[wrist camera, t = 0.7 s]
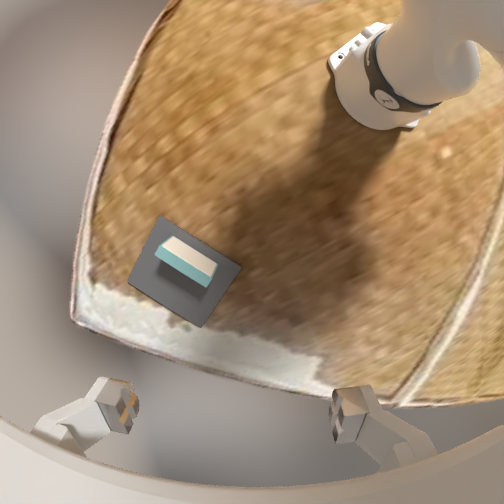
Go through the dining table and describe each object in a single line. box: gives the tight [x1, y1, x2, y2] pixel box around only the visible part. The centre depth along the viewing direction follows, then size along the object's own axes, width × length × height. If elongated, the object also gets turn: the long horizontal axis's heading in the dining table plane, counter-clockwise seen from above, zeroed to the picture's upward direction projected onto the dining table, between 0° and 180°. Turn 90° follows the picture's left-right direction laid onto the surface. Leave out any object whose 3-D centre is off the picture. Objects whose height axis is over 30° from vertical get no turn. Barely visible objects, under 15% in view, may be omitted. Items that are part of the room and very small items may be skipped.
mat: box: [127, 216, 242, 328], centre depth 48 cm, size 14×16×1 cm
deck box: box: [155, 236, 218, 288], centre depth 43 cm, size 2×9×6 cm, turn 57°
